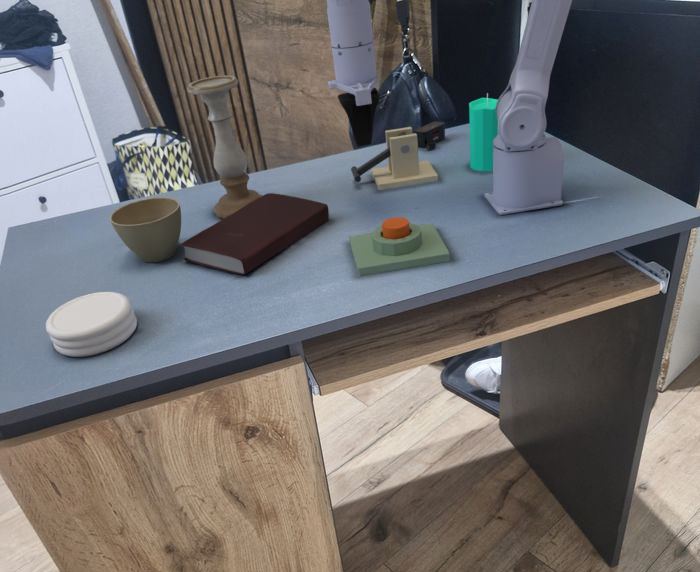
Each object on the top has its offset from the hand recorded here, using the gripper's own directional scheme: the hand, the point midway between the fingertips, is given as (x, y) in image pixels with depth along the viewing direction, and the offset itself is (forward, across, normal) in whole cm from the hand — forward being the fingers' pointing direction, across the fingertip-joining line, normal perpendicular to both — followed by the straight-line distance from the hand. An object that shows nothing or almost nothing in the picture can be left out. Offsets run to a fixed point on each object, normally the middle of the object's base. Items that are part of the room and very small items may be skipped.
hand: (363, 144), depth 94 cm
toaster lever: (+7, -11, +4) cm, 14 cm away
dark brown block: (+11, -26, +15) cm, 32 cm away
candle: (+11, -11, +22) cm, 26 cm away
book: (+10, +5, -18) cm, 21 cm away
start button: (+8, +16, +2) cm, 18 cm away
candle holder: (+10, -9, -21) cm, 25 cm away
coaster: (+10, +25, -38) cm, 46 cm away
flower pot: (+10, +4, -33) cm, 35 cm away
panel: (+10, +16, +2) cm, 19 cm away
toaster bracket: (+10, -11, +7) cm, 17 cm away
